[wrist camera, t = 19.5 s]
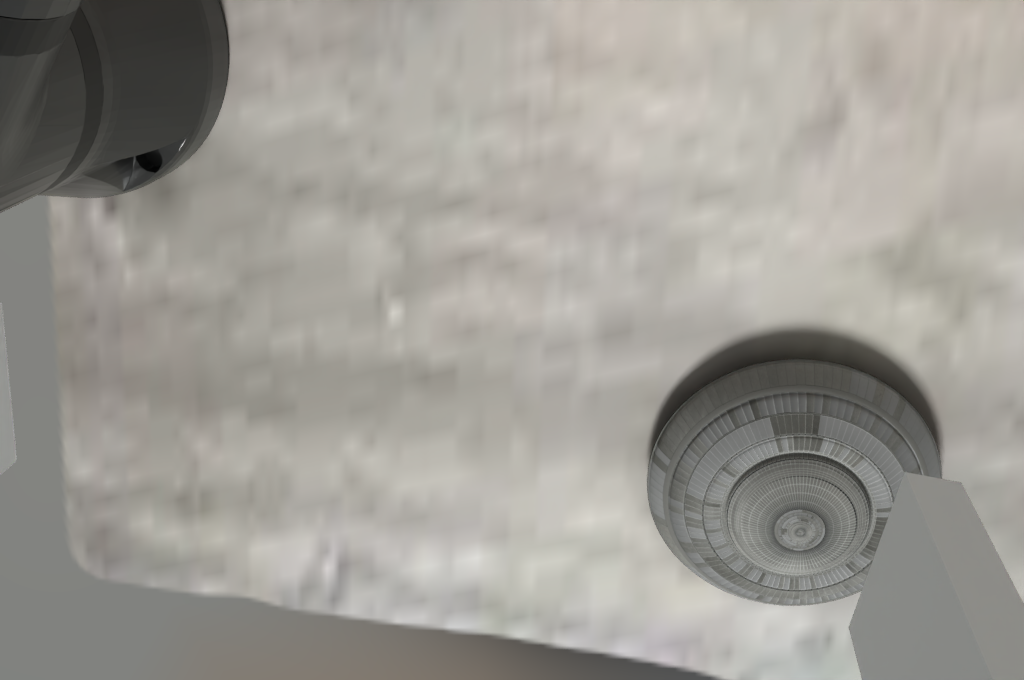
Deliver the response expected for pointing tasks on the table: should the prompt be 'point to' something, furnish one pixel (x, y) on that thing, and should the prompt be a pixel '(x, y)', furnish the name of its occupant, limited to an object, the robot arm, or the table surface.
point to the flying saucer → (785, 478)
